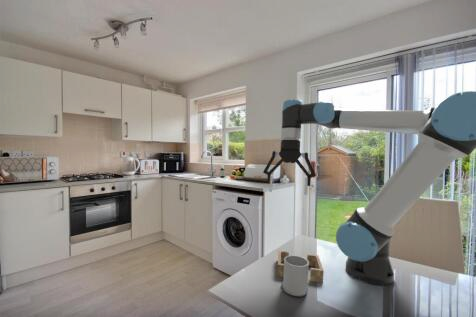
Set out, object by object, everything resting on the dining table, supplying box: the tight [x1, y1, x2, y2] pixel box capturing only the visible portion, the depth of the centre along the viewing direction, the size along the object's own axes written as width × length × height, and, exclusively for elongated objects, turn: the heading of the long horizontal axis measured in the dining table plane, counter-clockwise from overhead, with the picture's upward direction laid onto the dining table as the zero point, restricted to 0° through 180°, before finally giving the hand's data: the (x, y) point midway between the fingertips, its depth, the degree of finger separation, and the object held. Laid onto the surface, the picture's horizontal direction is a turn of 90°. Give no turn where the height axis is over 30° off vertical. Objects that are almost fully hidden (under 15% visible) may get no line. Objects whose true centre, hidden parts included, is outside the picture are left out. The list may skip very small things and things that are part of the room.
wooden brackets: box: [276, 250, 325, 284], centre depth 83 cm, size 15×12×4 cm
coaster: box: [281, 281, 309, 297], centre depth 72 cm, size 8×8×1 cm
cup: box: [282, 254, 310, 297], centre depth 71 cm, size 7×10×9 cm
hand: (287, 192), depth 91 cm, fingers open, 13 cm apart
